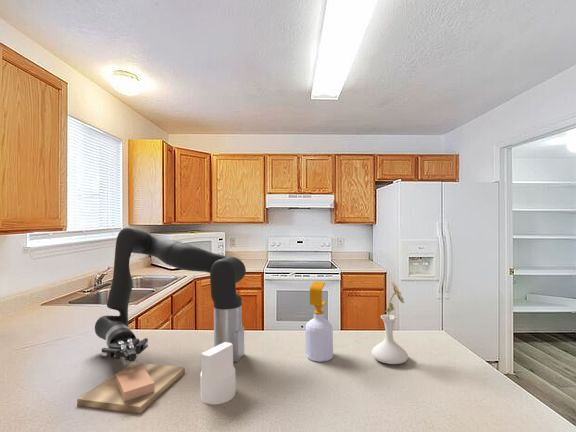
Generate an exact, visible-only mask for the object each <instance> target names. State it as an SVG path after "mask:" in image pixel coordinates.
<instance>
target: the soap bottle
mask: <svg viewBox="0 0 576 432" xmlns="http://www.w3.org/2000/svg"><path fill="white" fill-rule="evenodd" d="M325 285H326V282H324V281H313V282H312V284H311V285H310V287H309V305H311V306H314V308H316V309H315V310H313V318H312V319H310V320H308V322H307V323H306V325H305V356H306V357H307V359H308V360H310V361H313V362H318V363H319V362H321V363H324V362H327V361H328V362H329V361H330V360H332V359H333V357H334V339H333V338H334V334H333V332H334V330H333V325H332V323H331V322H330V321H329V320H327V319H326V318H325V316H324V315H325V314H324V313H325V312H324V310H322V308H323V306H325V305H326V303H327V302H326V301H323V292H322V291H323V288H324V287H325Z"/></svg>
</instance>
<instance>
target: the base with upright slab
mask: <svg viewBox="0 0 576 432" xmlns="http://www.w3.org/2000/svg"><path fill="white" fill-rule="evenodd" d="M199 374H200V376H199V377H200V400H201V402H202V403H204V404H207V405H220V404H224V403H227V402H229V401H230V400H232V399H233V398H234V397H235V395H236V393H237V392H236V367H235V366H234V362H233V344H232V343H228V342H224V343H222V344H220V345H218V346H216V347H211V348H210V349H208V350H206V351H203V352H201V371H200V373H199Z"/></svg>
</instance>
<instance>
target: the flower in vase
mask: <svg viewBox="0 0 576 432" xmlns="http://www.w3.org/2000/svg"><path fill="white" fill-rule="evenodd" d="M390 285H391V287H392V290H393V294H392V295H391V297H390V299H389V301H388V302H389V303H388V308H387V309H386V310H384V312H386V313H387V314H382V315H380V318H381V320H382V321H383V325H384V330H385V335H384V339H383V340H382V341H381V342H379V343H378V344H376V345H375V346H374V347H373V348H372V349H371V355H372V357H373V358H374V359H375V360H377V361H378V362H381V363H384V364H388V365H398V364H399V365H400V364H404V363H405V362H407V361H408V360H409V354H408V352H407V351H406V350H405V349H404V348H403V347H402V346H401V345H399V344H398V343H397V342H396V341H395V339H394V335H393V332H394V331H393V330H394V325H395V322H396V320H397V319H398V317H397V316H396V315H393V314H390V313H391V312H392V311H394V310H395V307H394V304H393V303H392V299H393V297H394V296H396V297H397V299H398V300H399V302H400V303H402V304H404V303H405V299H404V297H403V296H402V293H401V291H399V288H398V285H397V284H395V282H394V281H393V280H391V281H390Z"/></svg>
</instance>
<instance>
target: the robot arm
mask: <svg viewBox="0 0 576 432" xmlns="http://www.w3.org/2000/svg"><path fill="white" fill-rule="evenodd" d="M114 249H115V250H114V260H113V261H114V263H113V273H112V274H113V275H112V281H111V285H110V289H109V293H108V297H107V302H106V307H107V309H111V310H115V311H117V312H119V315H103V316H100V317H99V318H98V319H97V320H96V322H95V324H94V332H95V335H96V336H97V337H98V338H99V339H102V340H104V341H105V344H106V346H107V347H103V348H101V359H108V360H116V361H117V360H120V359H121V358H122V359H123V360H124V362H128V363H130V362H135V360H136V359H137V357H138V356H137V355H140V354H141V353H143V352H144V351H145V350H146V349H147V348H149V339H148V337H145V338H143V339H141V340H140V339H139V338H137V337H136V335H135V333H134V332H133V330H132V329H131V328H129V325H130V324H129V304H130V299H131V294H132V291H133V279H132V276H131V269H130V258H131V255H132V254H141V255H145V256H150V257H154V258H157V259H158V260H160V261H161V262H162V263H163V264H165V265H167V266H170V267H173V268H175V269H178V270H182V271H183V270H184V271H188V272H189V271H190V272H201V273H208V274H209V281H210V284H209V285H210V295H211V296H210V297H211V300H212V302H213V341H214V342H213V346H214V347H216V346H218V345H220V344H222V343H224V342H228V343H232V344H233V363H234V362H235V363H239V361H240V360H241V359H242V358H243V357H244V355H245V327H244V326H243V317H242V316H243V315H242V314H243V310H242V306H243V305H242V304H243V301H242V299H243V298H242V297H241V295H239V294H238V293H237V289H236V284H237V283H239V282H240V281H242V280H243V279H244V278H245V275H246V273H247V270H246V265H245V264H244V262H243V261H242V260H241V259H240V258H237V257H235V256H231V255H230V256H229V255H224V254H220V253H214V252H211V251H208V250H205V249H202V248H200V247H197V246H193V245H191V244H188V243H185V242H182V241H178V240H175V239H174V240H172V239H165V238H161V237H158V236H157V235H154V234H152V233H150V232H148V231H146V230H142V229H140V228H135V227H131V226H127V227H126V226H125V227H123V228H122V229H120V231H119V232H118V234H117V236H116V241H115V248H114Z"/></svg>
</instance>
